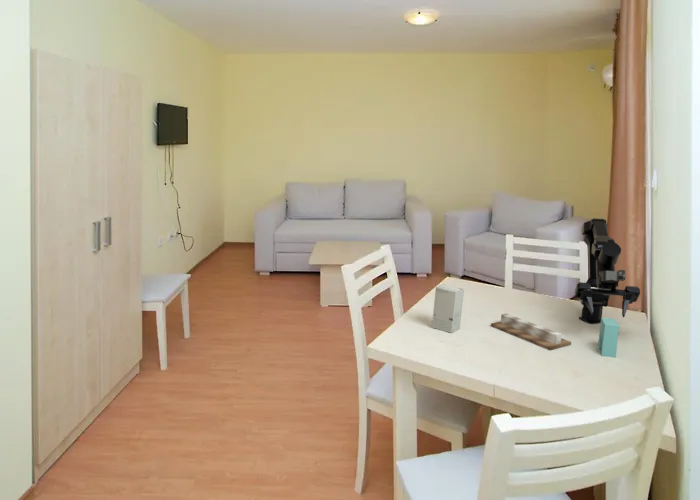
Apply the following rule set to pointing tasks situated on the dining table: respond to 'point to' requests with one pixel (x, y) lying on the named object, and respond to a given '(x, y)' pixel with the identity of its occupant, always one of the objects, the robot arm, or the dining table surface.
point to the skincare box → (447, 308)
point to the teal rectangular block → (608, 337)
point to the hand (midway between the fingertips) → (608, 315)
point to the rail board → (530, 337)
